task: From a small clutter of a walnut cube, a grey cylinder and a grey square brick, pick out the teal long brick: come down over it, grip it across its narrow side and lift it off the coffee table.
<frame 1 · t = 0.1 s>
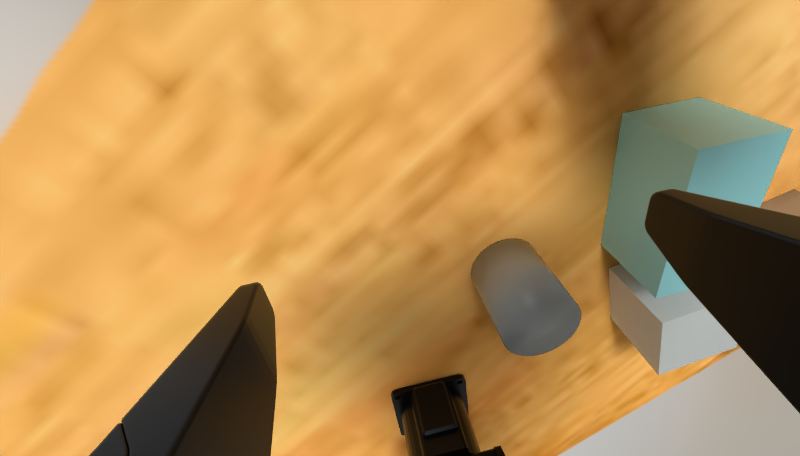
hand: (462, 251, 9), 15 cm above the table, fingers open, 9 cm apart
teal long brick: (644, 177, 28), on the table
walnut cube: (757, 226, 32), on the table
grey square brick: (643, 280, 33), on the table
grey cylinder: (503, 267, 30), on the table
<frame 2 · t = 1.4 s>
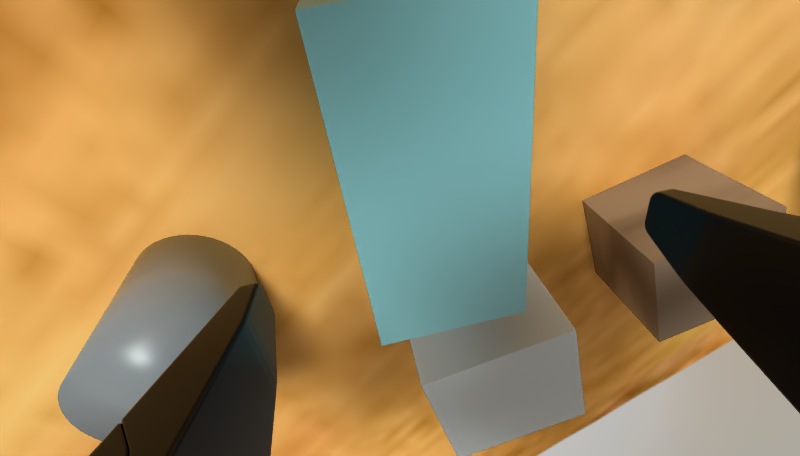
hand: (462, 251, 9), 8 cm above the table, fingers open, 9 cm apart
teal long brick: (402, 127, 16), on the table
walnut cube: (635, 217, 20), on the table
grey square brick: (465, 300, 22), on the table
grey cylinder: (197, 282, 18), on the table
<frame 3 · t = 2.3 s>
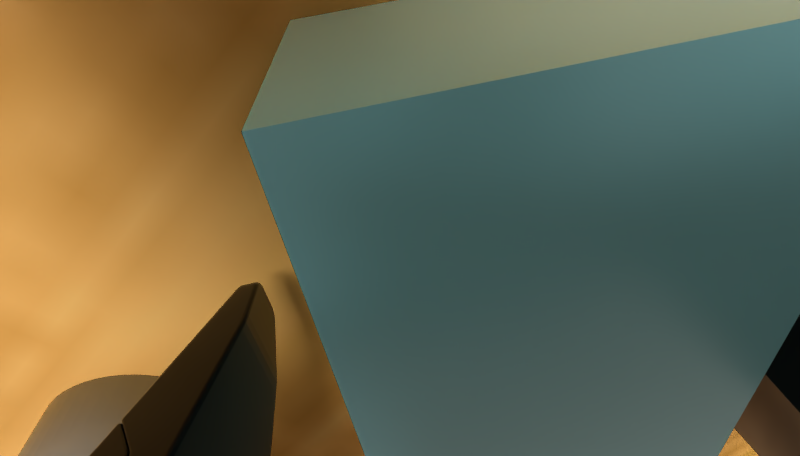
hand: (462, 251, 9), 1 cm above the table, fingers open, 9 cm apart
teal long brick: (446, 219, 10), on the table
walnut cube: (753, 313, 15), on the table
grey cylinder: (142, 429, 12), on the table
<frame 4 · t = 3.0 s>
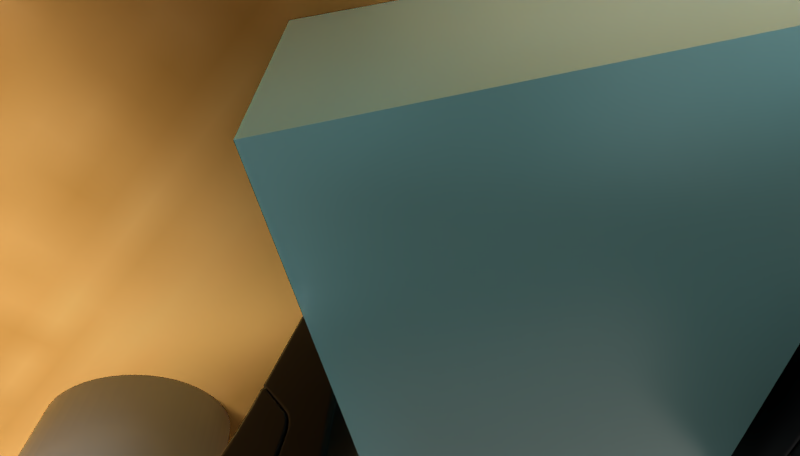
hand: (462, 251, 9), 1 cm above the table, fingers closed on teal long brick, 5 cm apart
teal long brick: (447, 222, 10), on the table, touching gripper
grey cylinder: (142, 429, 12), on the table
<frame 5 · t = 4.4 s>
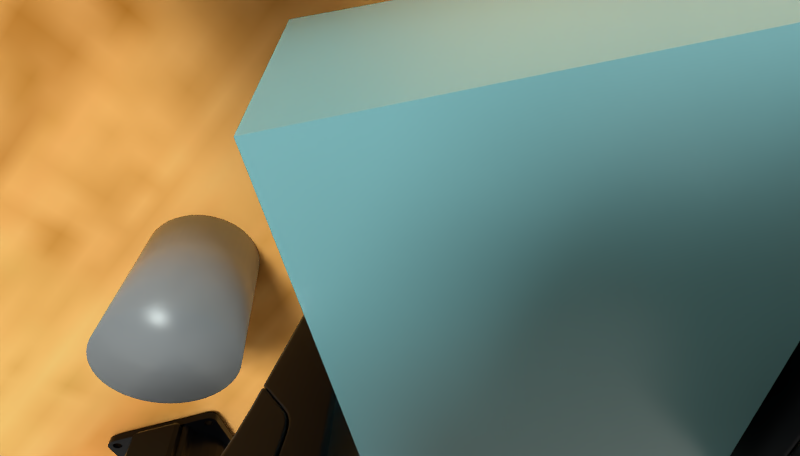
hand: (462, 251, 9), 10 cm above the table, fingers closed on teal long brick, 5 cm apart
teal long brick: (447, 221, 10), point 9 cm above the table, touching gripper
grey cylinder: (205, 259, 20), on the table
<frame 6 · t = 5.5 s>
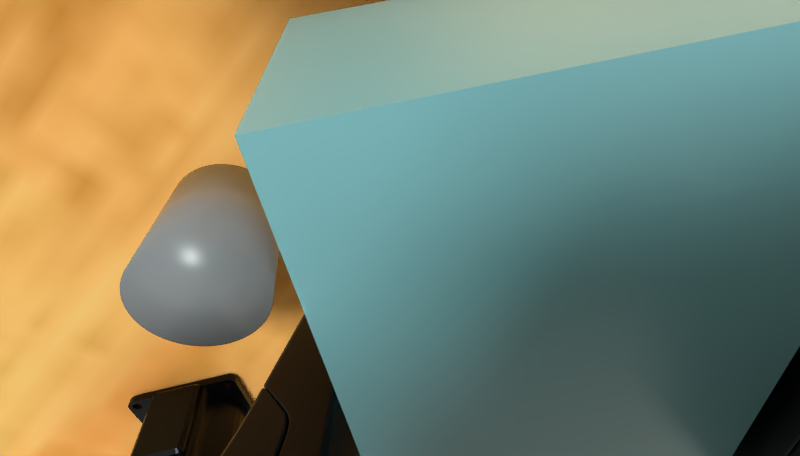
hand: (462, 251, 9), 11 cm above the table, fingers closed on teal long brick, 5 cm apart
teal long brick: (448, 221, 10), point 10 cm above the table, touching gripper
grey cylinder: (229, 212, 19), on the table
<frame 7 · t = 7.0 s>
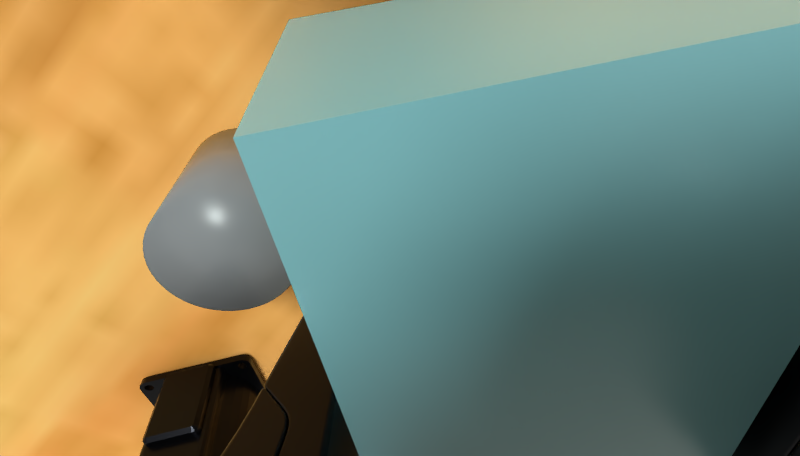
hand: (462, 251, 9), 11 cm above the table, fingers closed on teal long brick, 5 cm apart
teal long brick: (447, 221, 10), point 10 cm above the table, touching gripper
grey cylinder: (248, 180, 19), on the table
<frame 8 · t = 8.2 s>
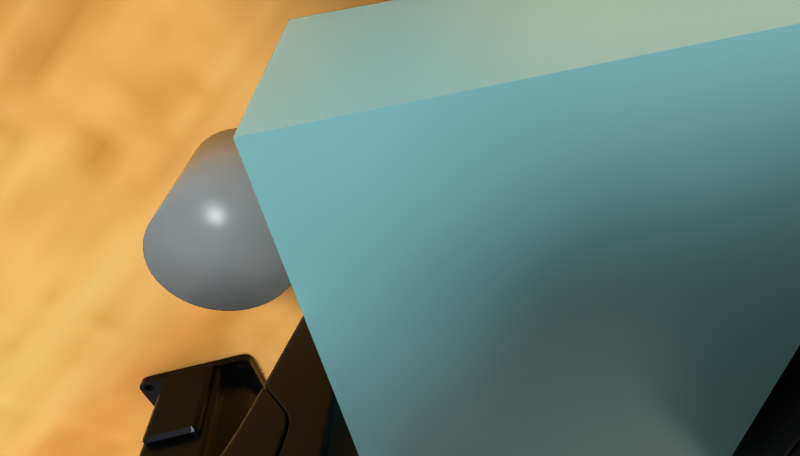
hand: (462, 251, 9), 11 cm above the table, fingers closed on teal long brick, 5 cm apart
teal long brick: (447, 221, 10), point 10 cm above the table, touching gripper
grey cylinder: (248, 180, 19), on the table
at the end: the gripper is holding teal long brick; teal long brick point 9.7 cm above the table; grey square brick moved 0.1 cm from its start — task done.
